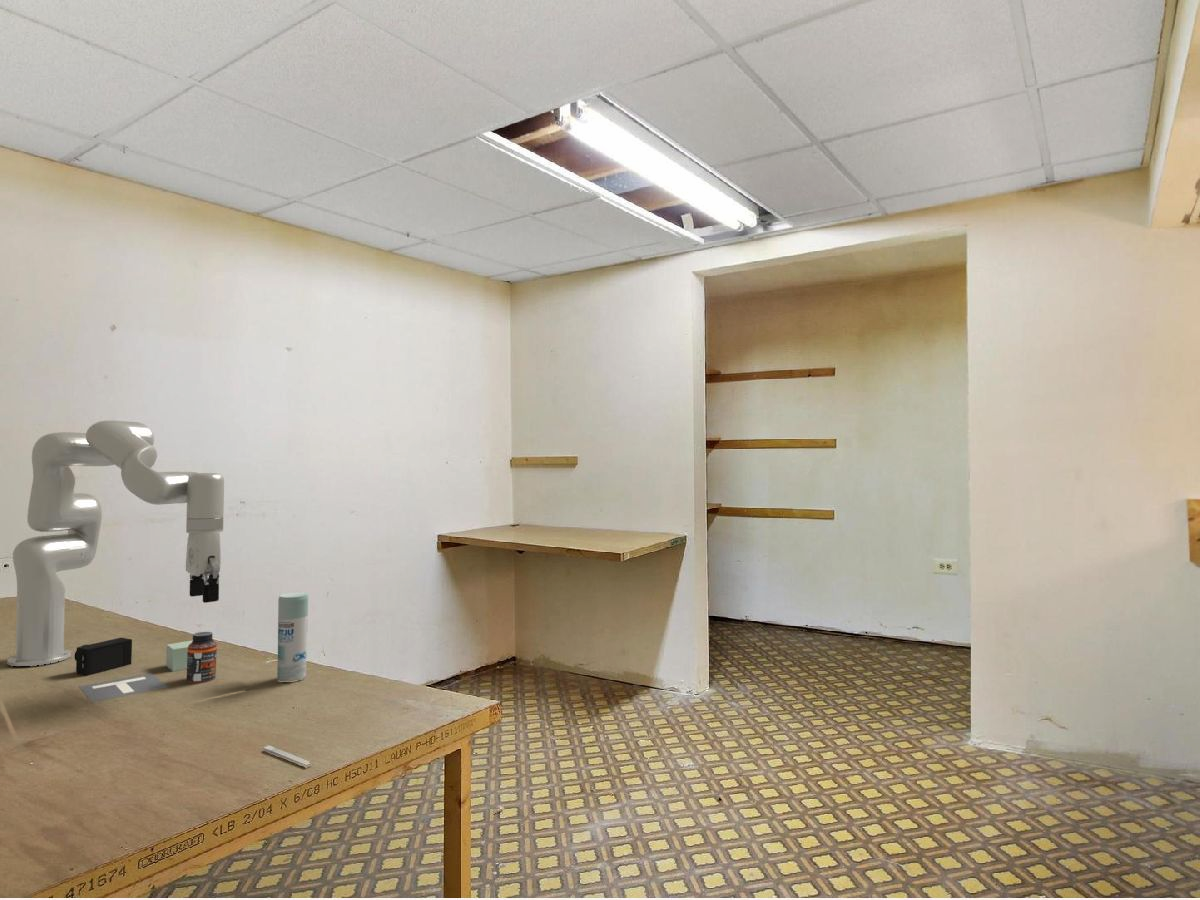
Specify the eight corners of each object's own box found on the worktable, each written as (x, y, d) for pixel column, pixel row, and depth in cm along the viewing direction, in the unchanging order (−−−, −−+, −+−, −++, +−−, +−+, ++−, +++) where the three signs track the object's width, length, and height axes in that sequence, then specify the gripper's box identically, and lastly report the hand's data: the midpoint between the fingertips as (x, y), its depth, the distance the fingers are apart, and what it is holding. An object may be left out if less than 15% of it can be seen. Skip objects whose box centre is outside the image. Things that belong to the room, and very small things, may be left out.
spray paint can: (312, 676, 164) (314, 593, 164) (290, 684, 158) (292, 598, 158) (293, 672, 167) (295, 591, 167) (270, 680, 161) (272, 595, 161)
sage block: (166, 668, 169) (166, 644, 169) (193, 663, 173) (193, 640, 173) (172, 674, 165) (173, 649, 165) (200, 669, 169) (201, 644, 169)
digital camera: (117, 664, 172) (118, 636, 172) (131, 666, 170) (132, 638, 170) (72, 675, 162) (73, 646, 162) (86, 679, 160) (87, 649, 160)
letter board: (79, 689, 153) (79, 686, 153) (151, 675, 163) (151, 673, 163) (91, 705, 143) (91, 702, 143) (168, 689, 153) (168, 687, 153)
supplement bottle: (202, 687, 156) (203, 637, 156) (180, 685, 157) (181, 635, 157) (221, 679, 161) (222, 631, 162) (200, 677, 163) (201, 629, 163)
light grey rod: (312, 768, 117) (312, 762, 117) (306, 770, 116) (306, 765, 116) (268, 751, 123) (269, 745, 124) (262, 753, 123) (263, 747, 123)
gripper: (176, 524, 163) (174, 595, 163) (198, 529, 151) (197, 606, 151) (210, 522, 168) (209, 591, 168) (235, 527, 156) (234, 601, 156)
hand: (203, 598), depth 159 cm, fingers open, 9 cm apart
